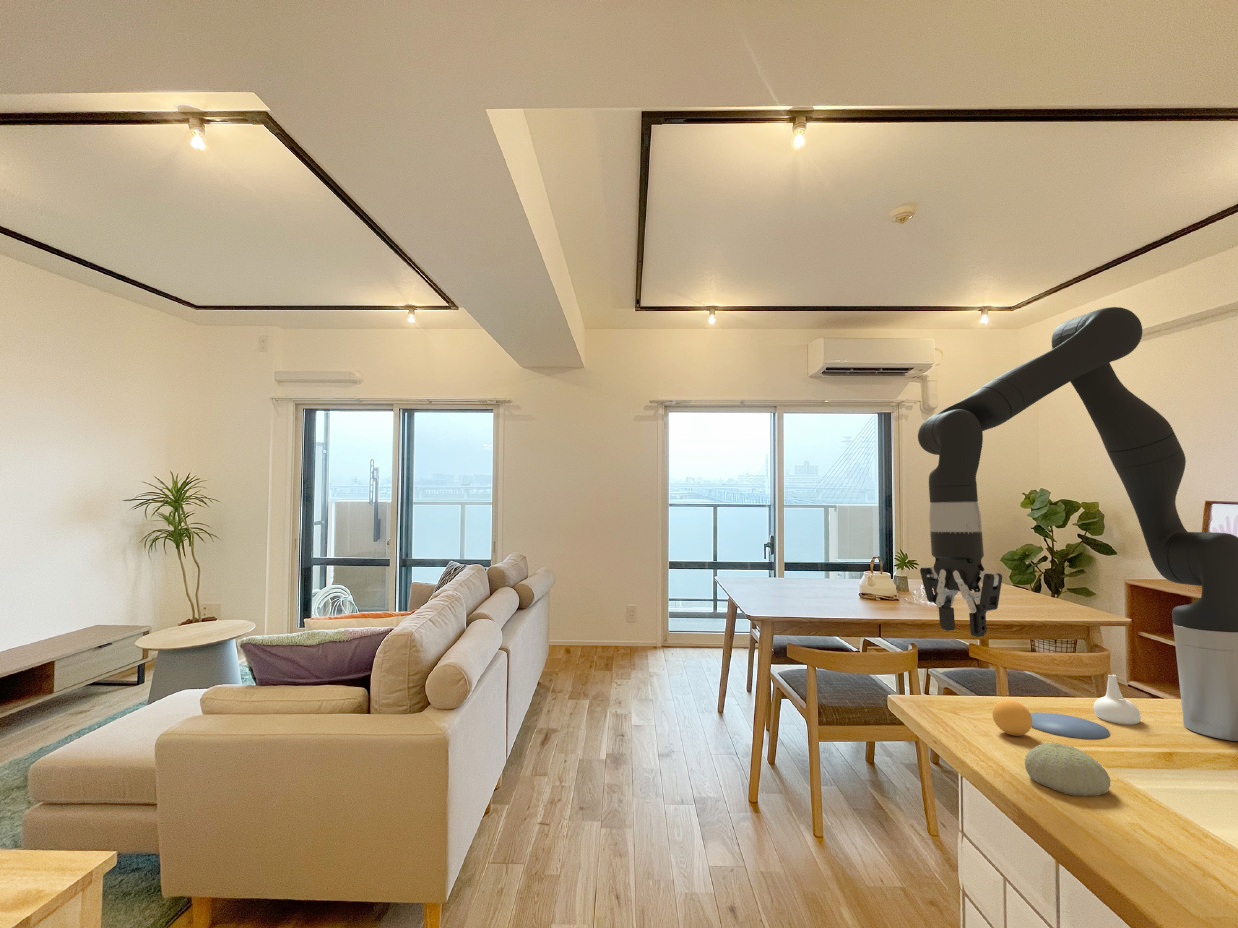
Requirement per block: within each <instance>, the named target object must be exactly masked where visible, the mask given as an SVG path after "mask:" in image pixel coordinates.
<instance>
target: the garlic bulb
mask: <svg viewBox="0 0 1238 928" xmlns="http://www.w3.org/2000/svg"><path fill="white" fill-rule="evenodd" d="M1119 699H1125V698H1124V697H1123V695H1122V693H1121V690H1120V686H1119V683H1118V679H1117V675H1116V674H1108V675H1107V685H1106V692H1105V695H1104V696H1102V697H1099V698H1097V699H1096V700H1095V701H1094V703H1093V712H1094V714H1095V715H1096V716H1097V717H1098V718H1099V719H1101V720H1103V721H1106V722H1109V723H1112V724H1113V723H1114V724H1119V725H1126V726H1127V725H1128V726H1131V725H1133V726H1134V725H1138V724H1139V723H1140V722H1141V719H1142V718H1141V717H1142V716H1141V712H1140V710H1139V708H1138V707H1137V706H1136V704H1134V703H1133V702H1131V701H1130V700H1128V699H1126V700H1119Z"/></svg>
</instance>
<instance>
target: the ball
mask: <svg viewBox="0 0 1238 928" xmlns="http://www.w3.org/2000/svg"><path fill="white" fill-rule="evenodd" d="M1030 713H1031V712H1030V710H1028V709H1027V707H1026V706H1024V705H1023V704H1022V703H1020V702H1018V701H1016V700H1013V699H1003V700H1000V701H998V702H997V703H995V705H994V706H993V709H992V713H991V714H992V719H993V721H994V723H995V725H996V726H997V727H998V728H999V730H1000V731H1002V732H1004V733H1006V734H1007V735H1010V736H1016V737H1017V736H1018V737H1020V736H1023V735H1026V734H1027V733H1029V732H1030V730H1031V729H1032V728H1033V727H1032V717H1031V714H1030Z"/></svg>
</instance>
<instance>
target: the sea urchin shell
mask: <svg viewBox="0 0 1238 928" xmlns="http://www.w3.org/2000/svg"><path fill="white" fill-rule="evenodd" d="M1024 767H1025V771H1026V772H1027V774H1028V775H1029V777H1030V778H1031V779H1032V780H1033V781H1035V782H1037V783H1038V784H1041V785H1043V786H1044V787H1047V788H1051V789H1053V791H1057V792H1060V793H1063V794H1065V795H1069V796H1073V797H1074V796H1078V797H1079V796H1081V797H1088V796H1091V797H1092V796H1094V797H1096V796H1100V795H1104V794H1107V793H1108V791H1109V790H1110V787H1111V779H1110V778H1111V777H1110V776H1109V774H1108V772H1107V770H1106V769H1105V767H1103V766H1102V764H1101V763H1099V761H1098V760H1096V759H1094V758H1093V757H1092V756H1091V755H1089V754H1087V753H1086V752H1083V751H1082V750H1080V749H1078V748H1076V747H1074V746H1072V745H1071V746H1070V745H1068V744H1061V743H1057V742H1046V743H1041V744H1037V745H1036V746H1034V747H1033V748H1031V749H1030V750H1029V751H1028V752H1027V754H1026V755H1025V758H1024Z"/></svg>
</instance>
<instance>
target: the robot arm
mask: <svg viewBox="0 0 1238 928" xmlns="http://www.w3.org/2000/svg"><path fill="white" fill-rule="evenodd" d="M1142 337H1143V325H1142V322H1141V320H1140V318H1139V317H1138V316H1137V314H1135V313H1134V312H1133V311H1132V310H1130V309H1128V308H1124V307H1120V306H1119V307H1118V306H1112V307H1103V308H1099V309H1097V310H1092V311H1091V312H1088V313H1084V314H1082V315H1080V316H1076V317H1074V318H1072V319H1067V320H1066V321H1064V322H1061V324H1059V325H1058V326H1057V327H1056V328H1055V329H1054V331H1053V333H1052V336H1051V349H1050V350H1048V351H1046V352H1045V353H1043V354H1041V355H1039V356H1036V357H1034V358H1033V359H1031V360H1028V361H1027V362H1025V363H1022V364H1020V365H1018V366H1016V367H1014V368H1011V369H1010V370H1008V371H1006V372H1004V373H1002V374H1001V375H999V376H997V377H995V378H993V379H992V380H991V381H989V382H987V383H986V384H984V385H983V386H981V387H979V388H978V389H977V390H975V391H974V392H973V393H971V394H970V395H968V396H967V397H965V398H964V399H962V400H960V401H958V402H956V403H954V404H952V405H949V406H948V407H946V408H944V409H942V410H940V411H939V412H936V413H935V414H933V415H931V416H930V417H929V418H927V419H926V420H924V422H923V423H922V424H921V425H920V427H919V429H918V433H917V441H918V444H919V445H920V447H921V448H922V449H923V450H924V452H925V451H926V453H929V454H932V455H935V456H938V462H937V463H938V465H937V466H936V468H935V469H933V470H932V471H931V472H930V474H929V475H928V489H929V490H928V493H929V513H928V514H929V516H928V517H929V520H928V521H929V535H930V548H931V549H930V550H931V551H930V552H931V556H932V557H933V558H934V559H935V561H934V564H933V566H929V567H928V566H927V567H926V566H925V567H921V568H919V573H920V576H921V580H922V581H921V582H922V584H923V588H924V591H925V596H926V600H927V601H928V602H929V603H934V604H935V605H936V607H937V608H938V616H939V624H940V627H941V629H942V630H943V631H946V632H947V631H954V630H955V629H956V621H955V612H954V611H955V608H954V607H952V606H953V604H954V601H955V597H956V595H958V593H959V592H960V594H961V597H962V598H963V600H965V602H966V603H967V607H968V610H969V613H968V614H969V617H968V618H969V628H970V630H969V631H970V635H971V636H972V637H976V638H981V637H984V636H985V635H986V634H987V632H988V631H987V629H988V628H987V615H986V614H987V612H990V611H994V610H998V608H999V600H1000V595H1001V589H1002V582H1003V575H1002V574H1001V573H999V572H995V573H994V572H990V571H987V570H985V568H984V566H983V564H982V559H983V558H984V555H985V552H984V540H983V529H982V516H981V511H980V505H979V502H978V501H979V499H978V485H977V473H978V471H979V470H978V469H979V466H980V460H981V454H982V449H983V442H984V441H983V440H984V435H983V434H984V433H983V432H985V431H986V430H991V429H993V428H994V429H995V428H996V427H998V426H1001V425H1003V424H1004V423H1006V422H1008V421H1009V420H1011V419H1012V418H1014V417H1016V416H1017V415H1018V414H1020V413H1023V411H1024V410H1026V409H1028V408H1029V407H1030V406H1032V405H1034V404H1035V403H1036V402H1038V401H1040V400H1042V399H1043V398H1045V397H1047V396H1048V395H1049V394H1051V393H1053V392H1054V391H1056V390H1058V389H1059V388H1061V387H1063V386H1064V385H1066V384H1068V383H1071V385H1072V386H1073V388H1074V391H1076V393H1077V395H1078V397H1079V398H1080V400H1081V401H1082V403H1083V405H1084V407H1085V409H1086V411H1087V413H1088V415H1089V417H1090V418H1091V421H1092V422H1093V425H1094V426H1095V428H1096V430H1097V432H1098V434H1099V436H1100V438H1101V441H1102V444H1103V447H1104V449H1105V450H1106V453H1107V455H1108V457H1109V459H1110V462H1111V463H1112V465H1113V467H1114V469H1115V471H1116V473H1117V474H1118V477H1119V478H1120V480H1121V483H1122V485H1123V486H1124V490H1125V492H1126V494H1127V496H1128V497H1129V500H1130V502H1131V506H1132V508H1133V509H1134V512H1135V514H1136V517H1137V519H1138V523H1139V526H1140V529H1141V532H1142V535H1143V538H1144V542H1145V544H1146V547H1147V551H1148V552H1149V556H1150V558H1151V561H1152V563H1153V565H1154V566H1155V569H1156V570H1157V571H1158V572H1159V574H1160V575H1161V576H1162V578H1164V579H1166V580H1167V581H1169V582H1171V583H1175V584H1180V585H1188V586H1189V585H1190V586H1199V587H1201V595H1200V598H1199V599H1198V600H1196V601H1194V602H1191V603H1189V604H1183V605H1177V606H1175V607H1174V608H1173V609H1172V611H1171V616H1172V617H1171V619H1172V627H1173V636H1174V643H1175V654H1176V664H1177V673H1178V683H1179V691H1180V701H1181V702H1180V703H1181V711H1182V712H1181V713H1182V721H1183V723H1182V724H1183V726H1184V727H1185V728H1186V729H1188V730H1190V731H1192V732H1194V733H1198V734H1201V735H1203V736H1207V737H1210V738H1211V737H1212V738H1216V739H1221V740H1224V741H1225V740H1226V741H1232V742H1233V741H1234V742H1238V536H1237V535H1234V534H1231V533H1227V532H1226V533H1225V532H1213V531H1212V532H1208V531H1207V532H1206V531H1205V532H1204V531H1203V532H1202V531H1201V532H1200V531H1188V530H1187V529H1186V528H1185V526H1184V525H1183V522H1182V520H1181V518H1180V515H1179V513H1178V510H1177V505H1176V501H1177V499H1176V498H1177V494H1178V491H1179V488H1180V485H1181V483H1182V479H1183V477H1184V473H1185V470H1186V462H1187V460H1186V459H1187V458H1186V456H1185V452H1184V450H1183V448H1182V446H1181V443H1180V441H1179V439H1178V437H1177V435H1176V433H1175V431H1174V429H1173V427H1172V425H1171V424H1170V422H1169V421H1168V420H1167V419H1166V418H1165V417H1164V416H1163V415H1162V414H1161V413H1160V412H1159V411H1157V410H1156V409H1155V408H1153V407H1152V406H1151V405H1149V404H1148V403H1147V402H1145V401H1144V400H1143V399H1141V398H1140V397H1138V396H1137V395H1136V394H1134V393H1133V392H1131V391H1130V390H1129V389H1128V388H1127V387H1126V386H1125V385H1124V384H1123V383H1122V381H1121V380H1120V378H1119V377H1118V376H1117V374H1116V372H1115V370H1114V368H1113V367H1112V365H1111V362H1115V361H1118V360H1120V359H1122V358H1125V357H1126V356H1129V354H1131V353H1132V352H1133V351H1134V350H1136V348H1138V345H1139V344H1140V342H1141V340H1142V339H1143V338H1142Z"/></svg>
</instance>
